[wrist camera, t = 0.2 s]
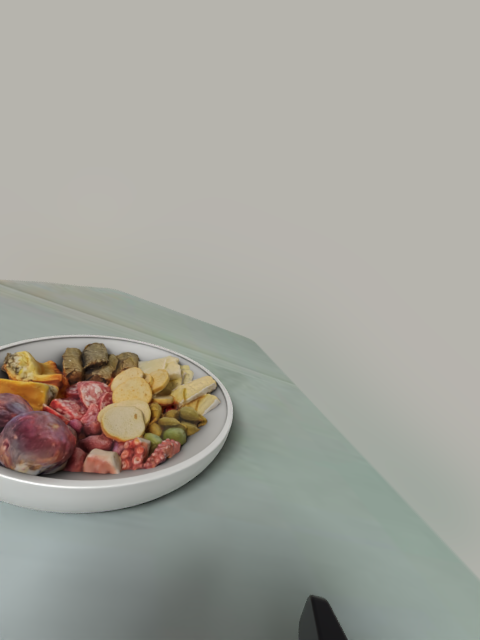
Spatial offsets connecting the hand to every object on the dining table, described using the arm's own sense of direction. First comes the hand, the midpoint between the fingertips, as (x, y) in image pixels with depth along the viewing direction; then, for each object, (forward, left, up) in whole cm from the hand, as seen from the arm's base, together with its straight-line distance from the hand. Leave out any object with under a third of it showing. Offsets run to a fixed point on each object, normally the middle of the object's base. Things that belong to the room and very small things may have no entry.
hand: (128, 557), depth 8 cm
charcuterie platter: (+27, +12, -17) cm, 34 cm away
